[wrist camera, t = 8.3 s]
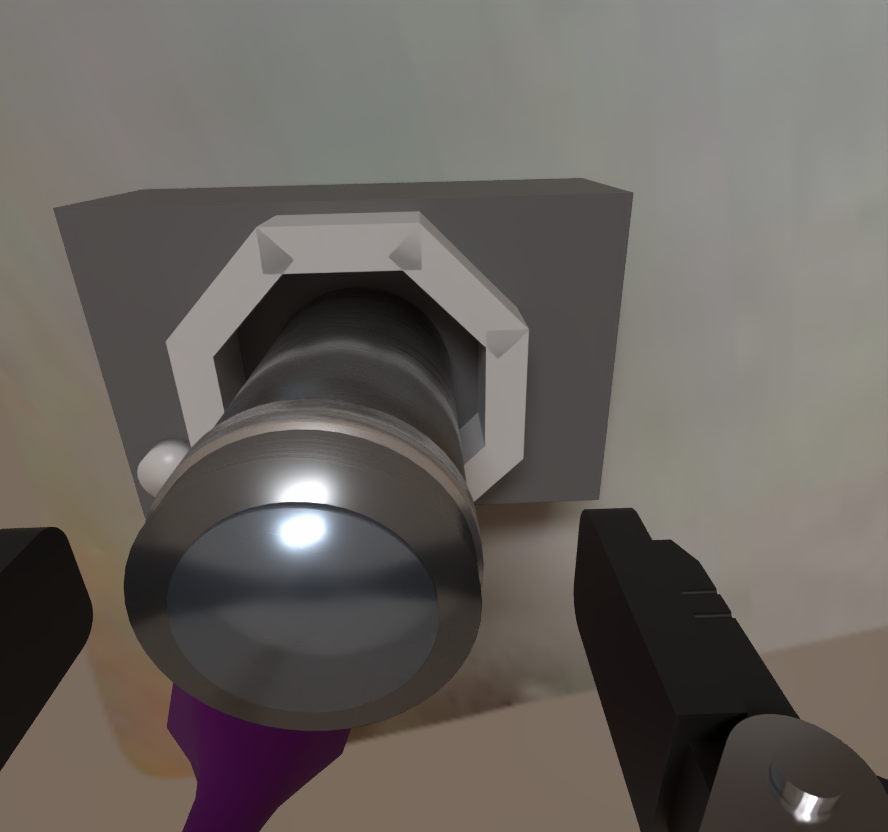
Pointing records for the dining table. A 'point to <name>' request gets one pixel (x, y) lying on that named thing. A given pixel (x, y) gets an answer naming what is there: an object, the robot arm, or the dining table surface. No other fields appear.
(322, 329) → the lens
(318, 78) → the dining table surface
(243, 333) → the camera body
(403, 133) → the dining table surface
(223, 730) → the perfume bottle
